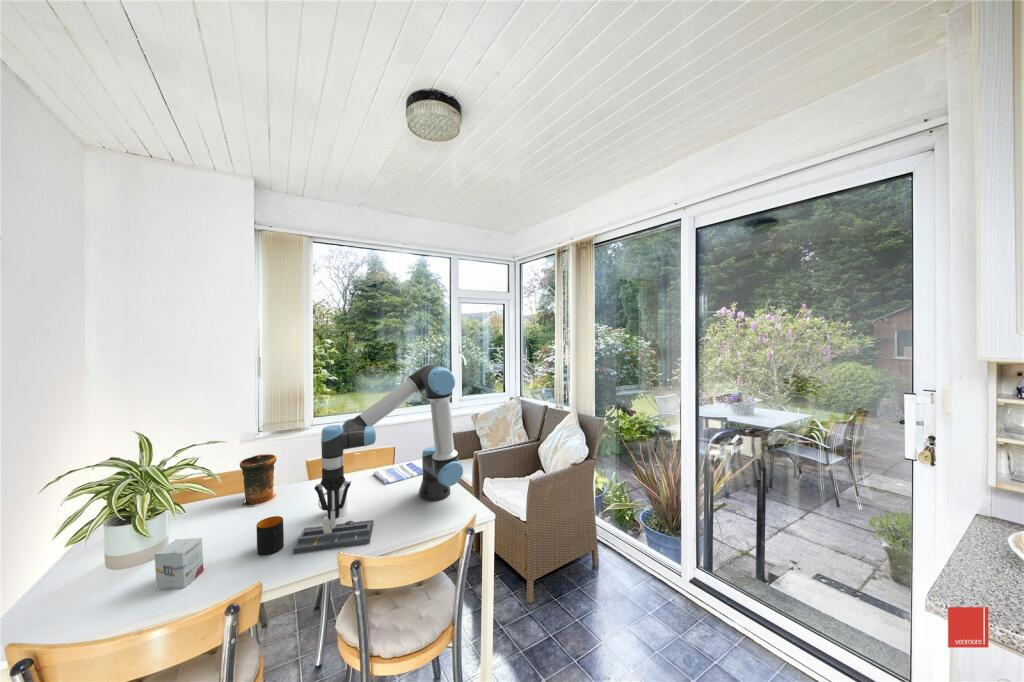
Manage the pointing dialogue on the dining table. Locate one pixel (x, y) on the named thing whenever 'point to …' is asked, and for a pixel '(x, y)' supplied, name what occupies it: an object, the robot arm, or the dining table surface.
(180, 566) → the ink box
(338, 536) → the console
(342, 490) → the mug
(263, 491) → the vessel
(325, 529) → the fader
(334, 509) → the robot arm
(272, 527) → the mug
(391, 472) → the dish towel
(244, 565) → the dining table surface
